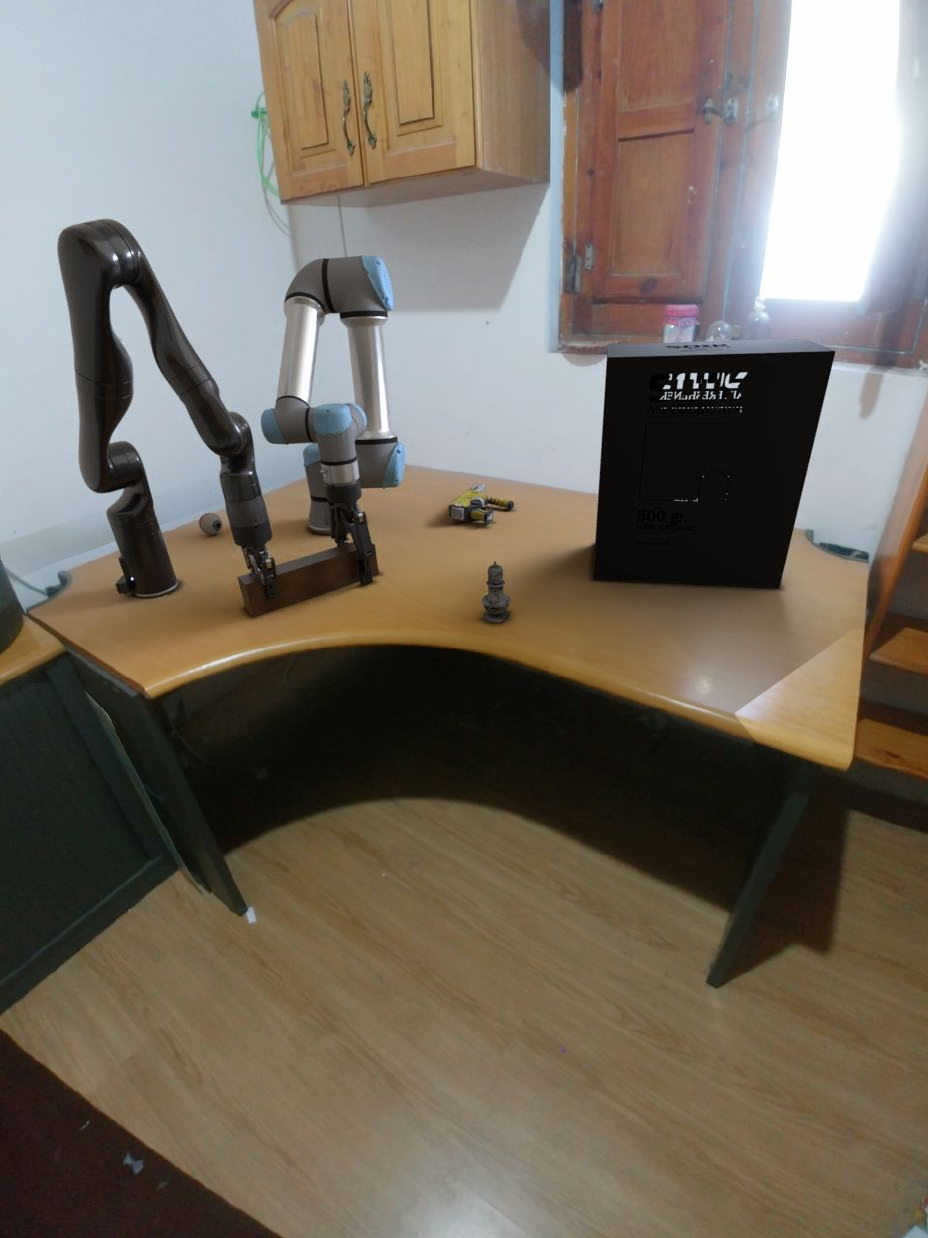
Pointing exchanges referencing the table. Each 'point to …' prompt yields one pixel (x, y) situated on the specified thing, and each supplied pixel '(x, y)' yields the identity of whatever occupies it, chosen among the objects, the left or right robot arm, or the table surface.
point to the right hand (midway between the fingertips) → (356, 575)
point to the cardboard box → (706, 459)
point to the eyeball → (210, 523)
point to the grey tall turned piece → (496, 596)
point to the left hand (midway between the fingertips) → (266, 593)
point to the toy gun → (475, 505)
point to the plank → (305, 578)
